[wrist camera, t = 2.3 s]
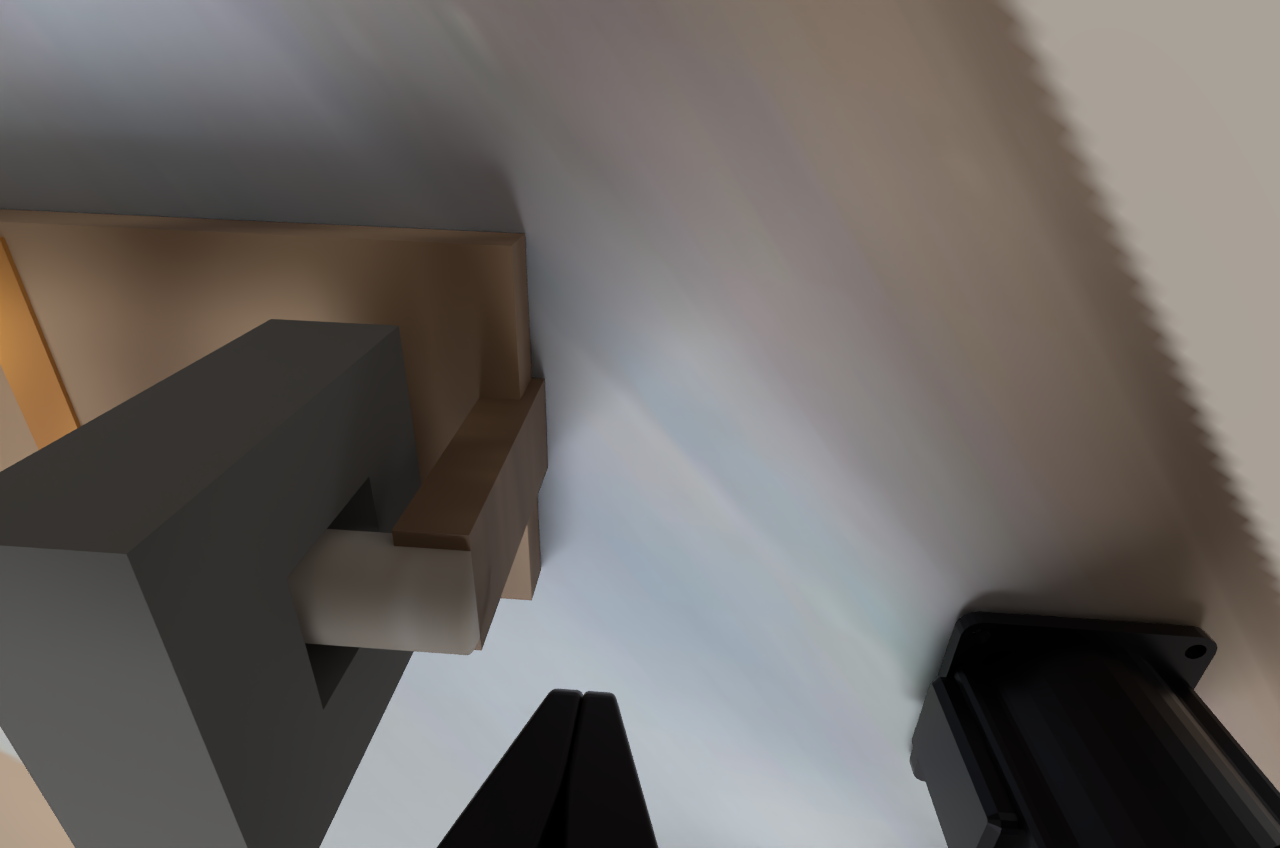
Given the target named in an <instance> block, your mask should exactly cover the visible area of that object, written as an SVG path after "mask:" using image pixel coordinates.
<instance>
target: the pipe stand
mask: <svg viewBox="0 0 1280 848" xmlns="http://www.w3.org/2000/svg"><path fill="white" fill-rule="evenodd" d="M270 319H283V320H302V321H321V322H340V323H359V324H378V325H396V326H399V331H400V338H401V345H402V352H403V359H404V366H405V373H406V380H407V387H408V394H409V401H410V408H411V415H412V422H413V429H414V436H415V443H416V450H417V457H418V464H419V471H420V478H421V487H420V488H419V490H418V491H417V493H416V494H415V496H414V497H413V499H412V500H411V502H410V503H409V505H408V506H407V508H406V509H405V511H404V512H403V514H402V515H401V517H400V518H399V520H398V521H397V523H396V524H395V526H394V527H393V529H392V533H381V532H366V531H351V530H336V529H326V530H325V531H324V533H323V534H322V535H321V536H320V538H319V539H318V540H317V541H316V543H315V544H314V545H313V546H312V548H311V549H310V550H309V551H308V552H307V554H306V555H305V556H304V557H303V559H302V560H301V561H300V562H299V564H298V565H297V566H296V567H295V569H294V570H293V571H292V572H291V573H290V575H289V576H288V577H287V580H288V584H289V588H290V591H291V595H292V598H293V602H294V606H295V609H296V613H297V617H298V620H299V624H300V627H301V631H302V635H303V638H304V642H305V643H308V644H321V645H335V646H349V647H362V648H376V649H390V650H403V651H417V652H431V653H444V654H458V655H469V654H471V653H472V652H473V650H482V648H483V645H484V642H485V639H486V636H487V634H488V631H489V628H490V625H491V623H492V620H493V617H494V614H495V612H496V609H497V606H498V603H499V601H500V598H506V599H520V600H532V598H533V594H534V591H535V588H536V584H537V581H538V578H539V574H540V571H541V562H540V541H539V520H538V498H537V496H538V493H539V490H540V487H541V485H542V482H543V479H544V476H545V473H546V471H547V468H548V457H547V430H546V403H545V379H541V378H532V371H531V350H530V328H529V307H528V286H527V265H526V243H525V234H523V233H502V232H480V231H459V230H437V229H416V228H394V227H373V226H351V225H330V224H308V223H287V222H265V221H244V220H222V219H201V218H179V217H158V216H136V215H115V214H93V213H72V212H50V211H29V210H7V209H0V472H1V471H3V470H4V469H6V468H8V467H10V466H12V465H13V464H15V463H17V462H19V461H20V460H22V459H24V458H26V457H27V456H29V455H31V454H33V453H35V452H36V451H38V450H40V449H42V448H43V447H45V446H47V445H49V444H50V443H52V442H54V441H56V440H58V439H59V438H61V437H63V436H65V435H66V434H68V433H70V432H72V431H73V430H75V429H77V428H79V427H81V426H82V425H84V424H86V423H88V422H89V421H91V420H93V419H95V418H97V417H98V416H100V415H102V414H104V413H105V412H107V411H109V410H111V409H112V408H114V407H116V406H118V405H120V404H121V403H123V402H125V401H127V400H128V399H130V398H132V397H134V396H135V395H137V394H139V393H141V392H143V391H144V390H146V389H148V388H150V387H151V386H153V385H155V384H157V383H158V382H160V381H162V380H164V379H166V378H167V377H169V376H171V375H173V374H174V373H176V372H178V371H180V370H181V369H183V368H185V367H187V366H189V365H190V364H192V363H194V362H196V361H197V360H199V359H201V358H203V357H204V356H206V355H208V354H210V353H212V352H213V351H215V350H217V349H219V348H220V347H222V346H224V345H226V344H227V343H229V342H231V341H233V340H235V339H236V338H238V337H240V336H242V335H243V334H245V333H247V332H249V331H251V330H252V329H254V328H256V327H258V326H259V325H261V324H263V323H265V322H266V321H268V320H270Z"/></svg>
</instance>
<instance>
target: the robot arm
mask: <svg viewBox="0 0 1280 848" xmlns="http://www.w3.org/2000/svg"><path fill="white" fill-rule="evenodd" d="M977 630H980V631H978V632H975V631H977ZM973 632H975V633H973ZM1216 650H1217V645H1216V643H1215V642H1214V640H1213V639H1212V638H1211V637H1210V636H1209V635H1208V634H1207V633H1206V632H1205V631H1204V630H1202V629H1201V628H1199V627H1194V626H1182V625H1168V624H1153V623H1138V622H1124V621H1109V620H1094V619H1080V618H1065V617H1050V616H1035V615H1021V614H1006V613H991V612H971V613H968V614H965V615H963V616H962V617H961V618H959V619H958V621H957V622H956V624H955V627H954V630H953V633H952V635H951V638H950V641H949V644H948V647H947V650H946V653H945V656H944V659H943V662H942V665H941V668H940V671H939V674H938V676H937V677H936V678H935V679H934V680H933V682H932V683H931V684H930V687H929V690H928V693H927V696H926V699H925V702H924V705H923V708H922V711H921V714H920V716H919V719H918V722H917V725H916V728H915V731H914V734H913V737H912V744H913V746H914V747H913V750H912V753H911V756H910V764H911V767H912V771H913V774H914V775H915V777H916V778H917V779H919V780H921V781H925V782H926V784H927V787H928V790H929V793H930V796H931V799H932V802H933V805H934V808H935V811H936V814H937V816H938V819H939V822H940V825H941V828H942V831H943V834H944V837H945V840H946V843H947V846H948V848H1280V792H1279V791H1278V790H1277V789H1276V788H1275V787H1274V785H1273V784H1272V783H1271V782H1270V781H1269V779H1268V778H1267V777H1266V776H1265V775H1264V773H1263V772H1262V771H1261V770H1260V769H1259V767H1258V766H1257V765H1256V764H1255V763H1254V761H1253V760H1252V759H1251V758H1250V757H1249V755H1248V754H1247V753H1246V752H1245V751H1244V749H1243V748H1242V747H1241V746H1240V745H1239V744H1238V742H1237V741H1236V740H1235V739H1234V738H1233V736H1232V735H1231V734H1230V733H1229V732H1228V730H1227V729H1226V728H1225V727H1224V726H1223V724H1222V723H1221V722H1220V721H1219V720H1218V718H1217V717H1216V716H1215V715H1214V714H1213V712H1212V711H1211V710H1210V709H1209V708H1208V706H1207V705H1206V704H1205V703H1204V702H1203V701H1202V699H1201V698H1200V697H1199V696H1198V695H1197V693H1196V692H1195V691H1194V688H1195V687H1196V685H1197V683H1198V682H1199V680H1200V678H1201V677H1202V675H1203V673H1204V672H1205V670H1206V668H1207V667H1208V665H1209V663H1210V662H1211V660H1212V658H1213V657H1214V655H1215V653H1216ZM437 848H658V845H657V842H656V838H655V834H654V831H653V827H652V824H651V820H650V817H649V813H648V810H647V806H646V802H645V799H644V795H643V792H642V788H641V785H640V781H639V778H638V774H637V770H636V767H635V763H634V760H633V756H632V753H631V749H630V746H629V742H628V738H627V735H626V731H625V728H624V724H623V721H622V717H621V714H620V710H619V706H618V703H617V699H616V697H615V695H614V694H612V693H608V692H595V691H588V692H586V693H585V694H584V695H583V694H582V692H580V691H578V690H568V689H554V690H552V691H551V692H550V693H549V694H548V695H547V696H546V698H545V699H544V700H543V702H542V703H541V704H540V706H539V707H538V709H537V710H536V711H535V713H534V714H533V715H532V717H531V718H530V720H529V721H528V722H527V724H526V725H525V726H524V728H523V729H522V731H521V732H520V733H519V735H518V736H517V738H516V739H515V740H514V742H513V743H512V744H511V746H510V747H509V749H508V750H507V751H506V753H505V754H504V755H503V757H502V758H501V760H500V761H499V762H498V764H497V765H496V766H495V768H494V769H493V771H492V772H491V773H490V775H489V776H488V778H487V779H486V780H485V782H484V783H483V784H482V786H481V787H480V789H479V790H478V791H477V793H476V794H475V795H474V797H473V798H472V800H471V801H470V802H469V804H468V805H467V807H466V808H465V809H464V811H463V812H462V813H461V815H460V816H459V818H458V819H457V820H456V822H455V823H454V824H453V826H452V827H451V829H450V830H449V831H448V833H447V834H446V835H445V837H444V838H443V840H442V841H441V842H440V844H439V845H438V847H437Z"/></svg>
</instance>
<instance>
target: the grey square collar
mask: <svg viewBox="0 0 1280 848" xmlns="http://www.w3.org/2000/svg"><path fill="white" fill-rule="evenodd" d="M420 487H421V478H420V471H419V464H418V457H417V450H416V443H415V436H414V429H413V422H412V415H411V408H410V401H409V394H408V387H407V380H406V373H405V366H404V359H403V352H402V345H401V338H400V331H399V326H396V325H378V324H359V323H340V322H321V321H302V320H283V319H270V320H268V321H266V322H265V323H263V324H261V325H259V326H258V327H256V328H254V329H252V330H251V331H249V332H247V333H245V334H243V335H242V336H240V337H238V338H236V339H235V340H233V341H231V342H229V343H227V344H226V345H224V346H222V347H220V348H219V349H217V350H215V351H213V352H212V353H210V354H208V355H206V356H204V357H203V358H201V359H199V360H197V361H196V362H194V363H192V364H190V365H189V366H187V367H185V368H183V369H181V370H180V371H178V372H176V373H174V374H173V375H171V376H169V377H167V378H166V379H164V380H162V381H160V382H158V383H157V384H155V385H153V386H151V387H150V388H148V389H146V390H144V391H143V392H141V393H139V394H137V395H135V396H134V397H132V398H130V399H128V400H127V401H125V402H123V403H121V404H120V405H118V406H116V407H114V408H112V409H111V410H109V411H107V412H105V413H104V414H102V415H100V416H98V417H97V418H95V419H93V420H91V421H89V422H88V423H86V424H84V425H82V426H81V427H79V428H77V429H75V430H73V431H72V432H70V433H68V434H66V435H65V436H63V437H61V438H59V439H58V440H56V441H54V442H52V443H50V444H49V445H47V446H45V447H43V448H42V449H40V450H38V451H36V452H35V453H33V454H31V455H29V456H27V457H26V458H24V459H22V460H20V461H19V462H17V463H15V464H13V465H12V466H10V467H8V468H6V469H4V470H3V471H1V472H0V726H1V728H2V730H3V731H4V733H5V735H6V736H7V738H8V739H9V741H10V743H11V744H12V746H13V748H14V749H15V751H16V752H17V754H18V756H19V757H20V759H21V760H22V762H23V764H24V765H25V767H26V769H27V770H28V772H29V773H30V775H31V777H32V778H33V780H34V781H35V783H36V785H37V786H38V788H39V790H40V791H41V793H42V795H43V796H44V798H45V799H46V801H47V802H48V804H49V806H50V807H51V809H52V811H53V812H54V814H55V816H56V817H57V819H58V820H59V822H60V824H61V825H62V827H63V828H64V830H65V832H66V833H67V835H68V837H69V838H70V840H71V842H72V843H73V845H74V846H75V848H319V847H320V845H321V843H322V841H323V839H324V837H325V835H326V832H327V830H328V828H329V826H330V824H331V822H332V820H333V818H334V816H335V814H336V812H337V810H338V807H339V805H340V803H341V801H342V799H343V797H344V795H345V793H346V791H347V789H348V787H349V785H350V783H351V780H352V778H353V776H354V774H355V772H356V770H357V768H358V766H359V764H360V762H361V760H362V758H363V756H364V753H365V751H366V749H367V747H368V745H369V743H370V741H371V739H372V737H373V735H374V733H375V731H376V728H377V726H378V724H379V722H380V720H381V718H382V716H383V714H384V712H385V710H386V708H387V706H388V704H389V701H390V699H391V697H392V695H393V693H394V691H395V689H396V687H397V685H398V683H399V681H400V679H401V677H402V674H403V672H404V670H405V668H406V666H407V664H408V662H409V660H410V658H411V656H412V654H413V652H414V651H403V650H390V649H376V648H362V647H349V646H335V645H321V644H308V643H305V642H304V638H303V635H302V631H301V627H300V624H299V620H298V617H297V613H296V609H295V606H294V602H293V598H292V595H291V591H290V588H289V584H288V580H287V577H288V576H289V575H290V573H291V572H292V571H293V570H294V569H295V567H296V566H297V565H298V564H299V562H300V561H301V560H302V559H303V557H304V556H305V555H306V554H307V552H308V551H309V550H310V549H311V548H312V546H313V545H314V544H315V543H316V541H317V540H318V539H319V538H320V536H321V535H322V534H323V533H324V531H325V530H326V529H336V530H351V531H366V532H381V533H392V529H393V527H394V526H395V524H396V523H397V521H398V520H399V518H400V517H401V515H402V514H403V512H404V511H405V509H406V508H407V506H408V505H409V503H410V502H411V500H412V499H413V497H414V496H415V494H416V493H417V491H418V490H419V488H420Z"/></svg>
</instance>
